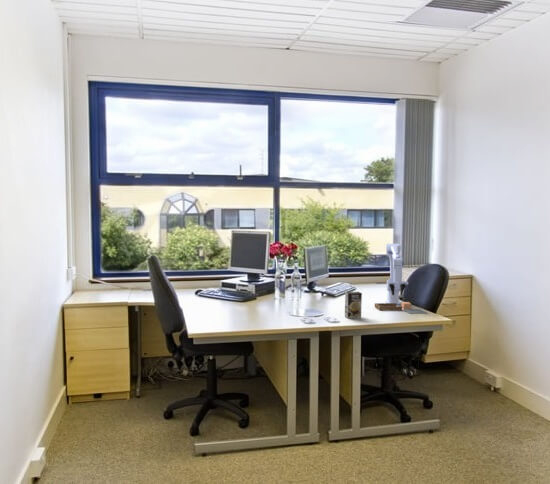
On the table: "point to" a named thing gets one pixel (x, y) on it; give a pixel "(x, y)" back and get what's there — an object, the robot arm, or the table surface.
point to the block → (406, 305)
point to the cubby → (387, 306)
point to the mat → (414, 311)
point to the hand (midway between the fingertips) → (397, 295)
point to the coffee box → (353, 304)
